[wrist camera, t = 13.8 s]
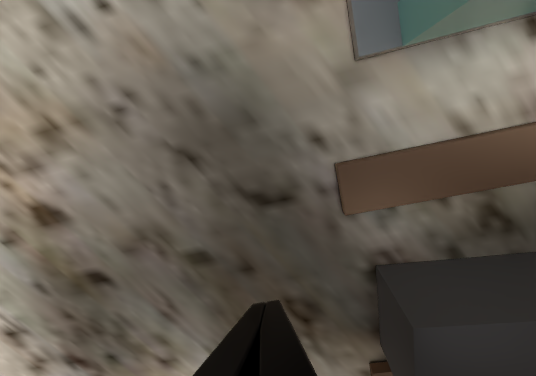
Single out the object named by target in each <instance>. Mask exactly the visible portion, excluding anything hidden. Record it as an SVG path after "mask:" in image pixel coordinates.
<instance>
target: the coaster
mask: <svg viewBox="0 0 536 376" xmlns="http://www.w3.org/2000/svg"><path fill="white" fill-rule="evenodd" d="M399 1H400V0H347V6H348V13H349V20H350V27H351V33H352V40H353V47H354V54H355V60H359V59H363V58H367V57H371V56H375V55H379V54H383V53H387V52H391V51H395V50H399V49H403V48H407V47H411V46H415V45H419V44H423V43H427V42H430V41H434V40H438V39H442V38H446V37H450V36H454V35H458V34H462V33H466V32H470V31H474V30H478V29H482V28H486V27H490V26H494V25H498V24H502V23H506V22H510V21H513V20H517V19H521V18H525V17H529V16H533V15H536V11H535V12H531V13H528V14H524V15H520V16H516V17H513V18H509V19H505V20H501V21H497V22H494V23H490V24H486V25H482V26H479V27H475V28H471V29H467V30H463V31H460V32H456V33H452V34H448V35H445V36H441V37H437V38H433V39H429V40H426V41H422V42H418V43H414V44H411V45H407V46H403V45H402V36H401V28H400V20H399V11H398V2H399Z"/></svg>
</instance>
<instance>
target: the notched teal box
mask: <svg viewBox="0 0 536 376" xmlns="http://www.w3.org/2000/svg"><path fill="white" fill-rule="evenodd" d="M398 11H399V20H400V28H401V36H402V45H403V46H407V45H411V44H414V43H418V42H422V41H426V40H429V39H433V38H437V37H441V36H445V35H448V34H452V33H456V32H460V31H463V30H467V29H471V28H475V27H479V26H482V25H486V24H490V23H494V22H497V21H501V20H505V19H509V18H513V17H516V16H520V15H524V14H528V13H531V12H535V11H536V0H400V1H399V2H398Z"/></svg>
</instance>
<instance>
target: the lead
mask: <svg viewBox="0 0 536 376" xmlns="http://www.w3.org/2000/svg"><path fill="white" fill-rule="evenodd" d="M376 278H377V294H378V311H379V327H380V344H381V347H382V349H383V352H384V354H385V357H386V359H387V361H388V364H389V366H390V369H391V371H392V374H393V376H536V252H530V253H518V254H506V255H495V256H483V257H471V258H460V259H448V260H436V261H424V262H413V263H401V264H389V265H378V266H376Z"/></svg>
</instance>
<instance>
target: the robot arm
mask: <svg viewBox="0 0 536 376" xmlns="http://www.w3.org/2000/svg"><path fill="white" fill-rule="evenodd" d="M193 376H317V374H316V372H315V370H314V368H313V366H312V364H311V362H310V360H309V358H308V356H307V354H306V352H305V350H304V348H303V346H302V344H301V342H300V340H299V338H298V336H297V334H296V332H295V330H294V328H293V326H292V324H291V322H290V321H289V319H288V317H287V315H286V313H285V311H284V309H283V307H282V305H281V303H280V301H279V300H275V301H269V302H267V303H265V302H262V303H256V304H253V305H252V306H251V307H250V308H249V309H248V311H247V312H246V313H245V314H244V315H243V317H242V318H241V319H240V320H239V321H238V322H237V324H236V325H235V326H234V327H233V328H232V330H231V331H230V332H229V333H228V334H227V336H226V337H225V338H224V339H223V340H222V341H221V343H220V344H219V345H218V346H217V347H216V349H215V350H214V351H213V352H212V353H211V354H210V356H209V357H208V358H207V359H206V360H205V362H204V363H203V364H202V365H201V366H200V367H199V369H198V370H197V371H196V372H195V373H194V375H193Z"/></svg>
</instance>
